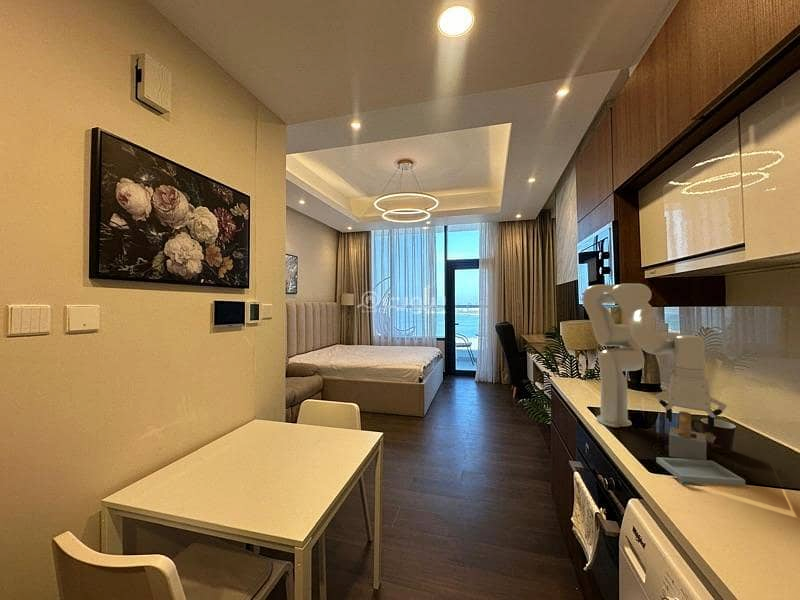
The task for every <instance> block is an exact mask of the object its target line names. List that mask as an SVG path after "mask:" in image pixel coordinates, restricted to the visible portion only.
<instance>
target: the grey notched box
mask: <svg viewBox="0 0 800 600" xmlns="http://www.w3.org/2000/svg"><path fill="white" fill-rule="evenodd" d="M698 432H699V431H698ZM698 432H696V431H692V430H691V437H687V436H682V435H679V427H674V426H670V428H669V432H668V457H670V458H677V459H693V460H707V443H706V434H703V432H700V433H698Z"/></svg>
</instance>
